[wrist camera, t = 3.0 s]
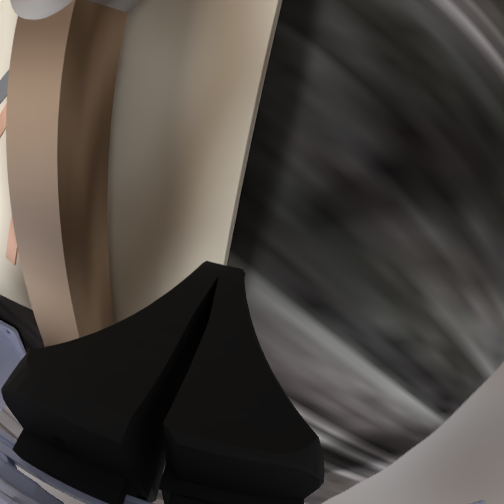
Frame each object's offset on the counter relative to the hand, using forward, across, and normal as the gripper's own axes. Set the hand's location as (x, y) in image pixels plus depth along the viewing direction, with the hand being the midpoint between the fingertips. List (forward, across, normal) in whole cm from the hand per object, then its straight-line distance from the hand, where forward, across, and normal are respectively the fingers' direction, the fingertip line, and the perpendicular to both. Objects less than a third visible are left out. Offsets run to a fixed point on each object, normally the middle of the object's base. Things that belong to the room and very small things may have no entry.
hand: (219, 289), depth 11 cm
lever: (+1, +6, -3) cm, 7 cm away
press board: (+3, +10, -3) cm, 11 cm away
